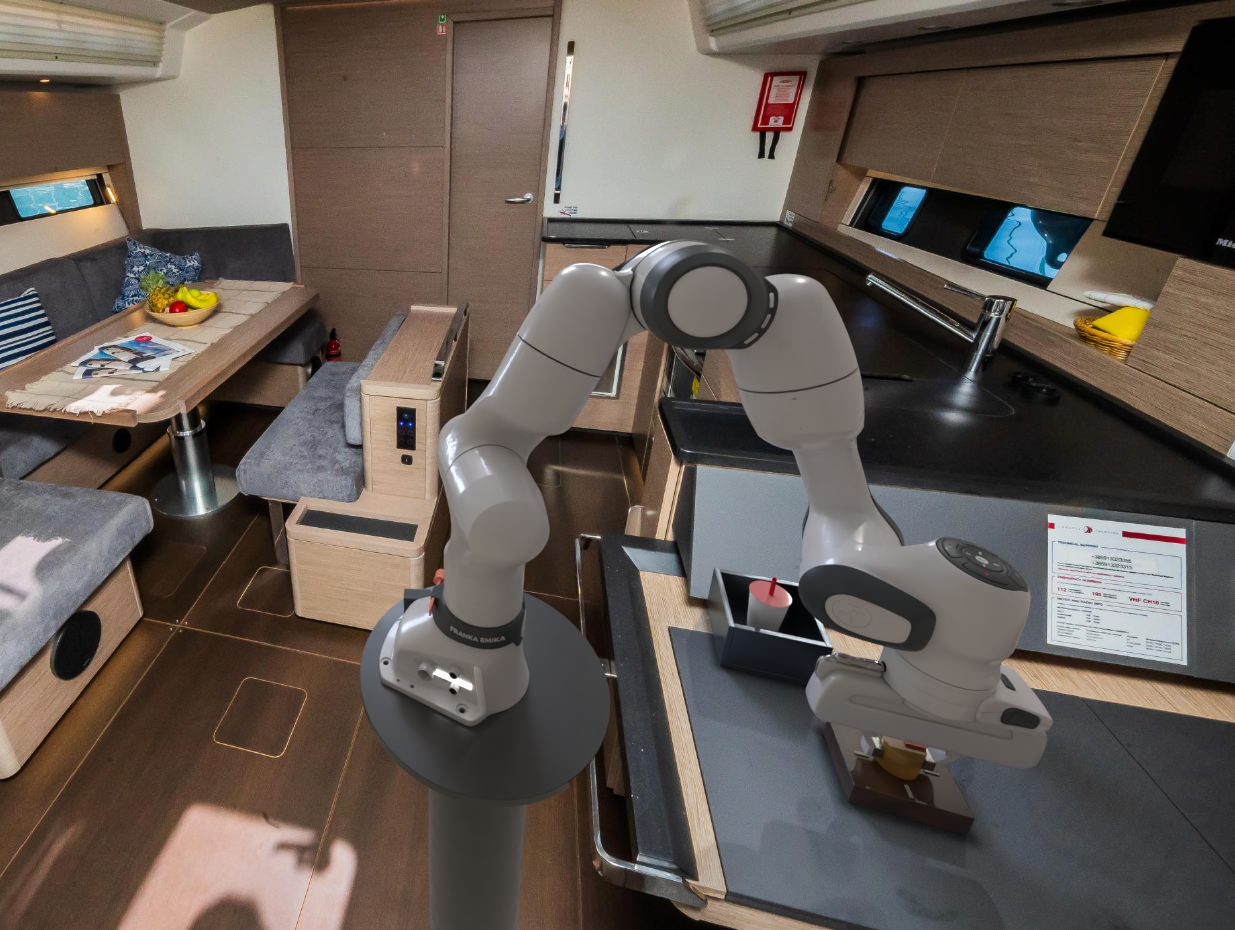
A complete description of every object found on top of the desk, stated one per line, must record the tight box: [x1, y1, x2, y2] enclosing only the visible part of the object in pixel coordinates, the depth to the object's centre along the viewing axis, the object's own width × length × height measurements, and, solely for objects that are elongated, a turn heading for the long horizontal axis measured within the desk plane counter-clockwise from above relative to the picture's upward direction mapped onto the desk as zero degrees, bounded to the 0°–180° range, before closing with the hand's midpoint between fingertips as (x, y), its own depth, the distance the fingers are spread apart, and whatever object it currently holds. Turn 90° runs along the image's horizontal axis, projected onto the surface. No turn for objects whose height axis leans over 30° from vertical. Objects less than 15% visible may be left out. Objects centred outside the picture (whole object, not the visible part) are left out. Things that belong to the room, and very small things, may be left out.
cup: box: [747, 576, 792, 632], centre depth 87 cm, size 5×5×12 cm
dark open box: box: [706, 567, 835, 687], centre depth 87 cm, size 13×13×8 cm
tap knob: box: [875, 735, 927, 780], centre depth 68 cm, size 4×4×4 cm
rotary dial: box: [822, 721, 976, 836], centre depth 69 cm, size 11×9×3 cm
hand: (897, 758), depth 68 cm, fingers closed on tap knob, 4 cm apart
